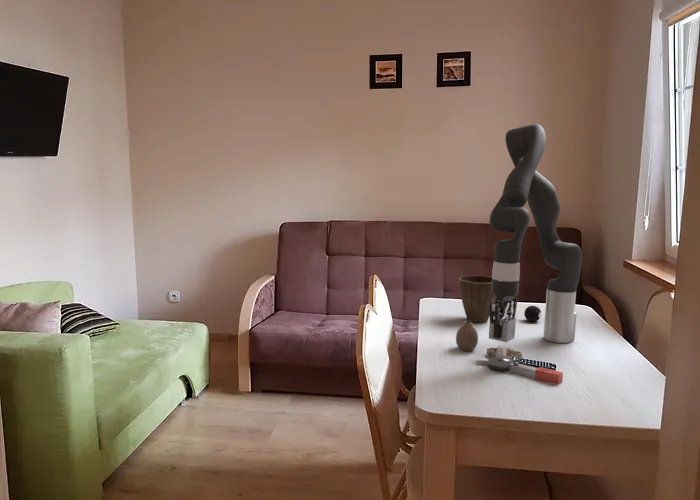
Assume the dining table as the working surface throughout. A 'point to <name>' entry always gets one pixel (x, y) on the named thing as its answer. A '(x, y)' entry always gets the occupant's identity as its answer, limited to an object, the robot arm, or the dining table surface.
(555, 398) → the dining table surface
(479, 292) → the plant pot
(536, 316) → the billiard ball
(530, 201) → the robot arm
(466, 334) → the vase
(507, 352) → the mineral rock
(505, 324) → the domed steel cube
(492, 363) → the ratchet
